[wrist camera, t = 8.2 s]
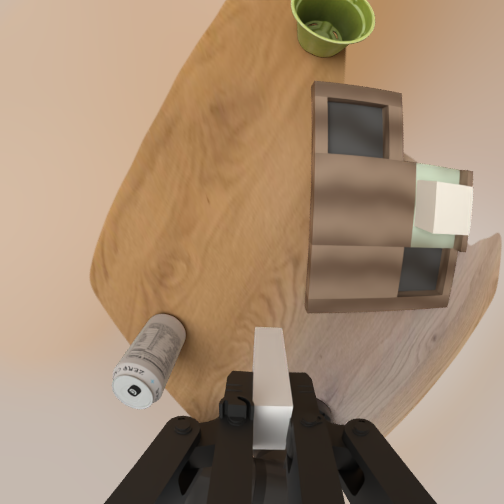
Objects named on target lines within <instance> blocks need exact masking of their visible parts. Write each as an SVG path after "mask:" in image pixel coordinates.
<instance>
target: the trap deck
mask: <svg viewBox="0 0 504 504" xmlns="http://www.w3.org/2000/svg"><path fill="white" fill-rule="evenodd" d="M311 96H312V165H311V204H310V229H309V249H308V266H307V281H306V295H305V308H306V311H307V313H347V312H376V311H398V310H415V309H430V308H443V307H447V305H448V301H449V297H450V292H451V287H452V282H453V277H454V272H455V266H456V260H457V254H458V251H460V252H466V248H467V241H468V235H453V234H433V233H430V232H428V231H425V230H423V229H420V228H418V227H415V226H414V219H415V206H416V189H417V180H426V181H437V182H444V183H451V184H458V185H464V186H470V187H473V171H468V170H457V169H451V168H446V167H440V166H434V165H427V164H421V163H414V162H407V161H403V111H402V94H401V93H397V92H392V91H386V90H381V89H375V88H369V87H363V86H355V85H348V84H340V83H331V82H321V81H314V83H313V84H312V86H311Z"/></svg>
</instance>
